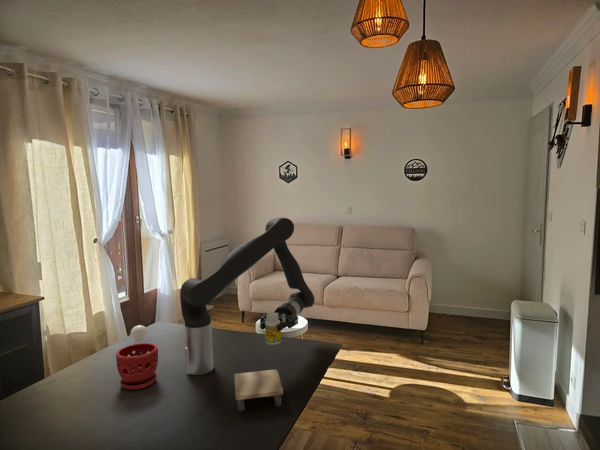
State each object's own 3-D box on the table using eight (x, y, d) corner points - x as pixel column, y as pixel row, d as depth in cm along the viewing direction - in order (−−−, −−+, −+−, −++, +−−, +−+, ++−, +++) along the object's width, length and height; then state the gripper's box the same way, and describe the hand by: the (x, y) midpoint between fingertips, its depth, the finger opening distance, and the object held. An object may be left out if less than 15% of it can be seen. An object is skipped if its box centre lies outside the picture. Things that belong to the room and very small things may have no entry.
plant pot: (163, 385, 134) (161, 351, 132) (121, 397, 127) (118, 361, 126) (155, 370, 145) (153, 338, 144) (116, 380, 138) (113, 347, 137)
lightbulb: (138, 356, 157) (136, 329, 156) (128, 353, 160) (126, 326, 159) (152, 350, 162) (150, 324, 161) (142, 347, 166) (140, 321, 165)
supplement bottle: (283, 339, 141) (282, 312, 140) (277, 345, 136) (277, 318, 135) (268, 338, 143) (268, 311, 141) (263, 344, 137) (262, 316, 136)
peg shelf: (236, 413, 116) (235, 396, 116) (235, 389, 130) (234, 373, 129) (283, 407, 119) (283, 390, 118) (277, 384, 133) (277, 369, 132)
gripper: (270, 301, 154) (250, 315, 138) (305, 304, 149) (289, 319, 133) (270, 320, 155) (251, 336, 139) (305, 323, 150) (289, 340, 134)
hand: (269, 327), depth 136 cm, fingers closed on supplement bottle, 5 cm apart
